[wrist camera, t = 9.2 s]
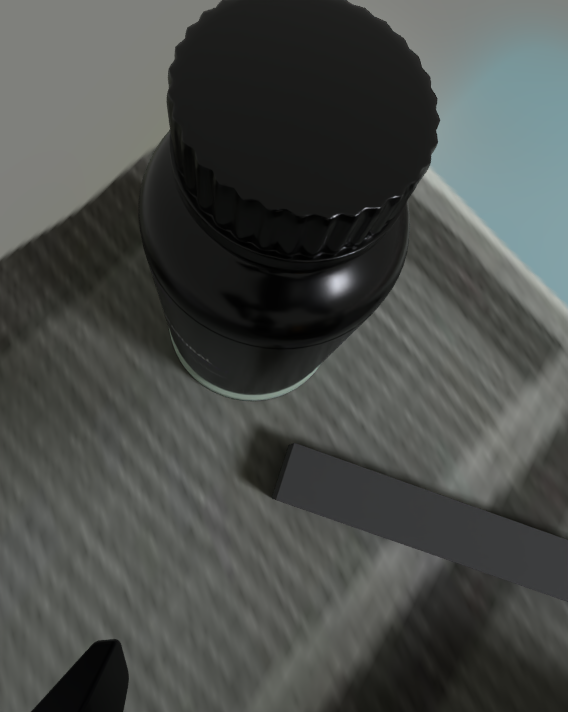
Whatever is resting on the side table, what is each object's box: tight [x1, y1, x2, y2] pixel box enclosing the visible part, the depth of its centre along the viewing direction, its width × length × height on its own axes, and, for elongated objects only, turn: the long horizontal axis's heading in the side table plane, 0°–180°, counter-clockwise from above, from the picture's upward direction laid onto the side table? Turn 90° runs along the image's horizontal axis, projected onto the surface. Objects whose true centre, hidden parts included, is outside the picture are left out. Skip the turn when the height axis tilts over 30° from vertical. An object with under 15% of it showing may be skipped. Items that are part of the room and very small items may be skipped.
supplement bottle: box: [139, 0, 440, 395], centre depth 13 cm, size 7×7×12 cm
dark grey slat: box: [272, 443, 568, 602], centre depth 18 cm, size 14×2×2 cm, turn 71°
